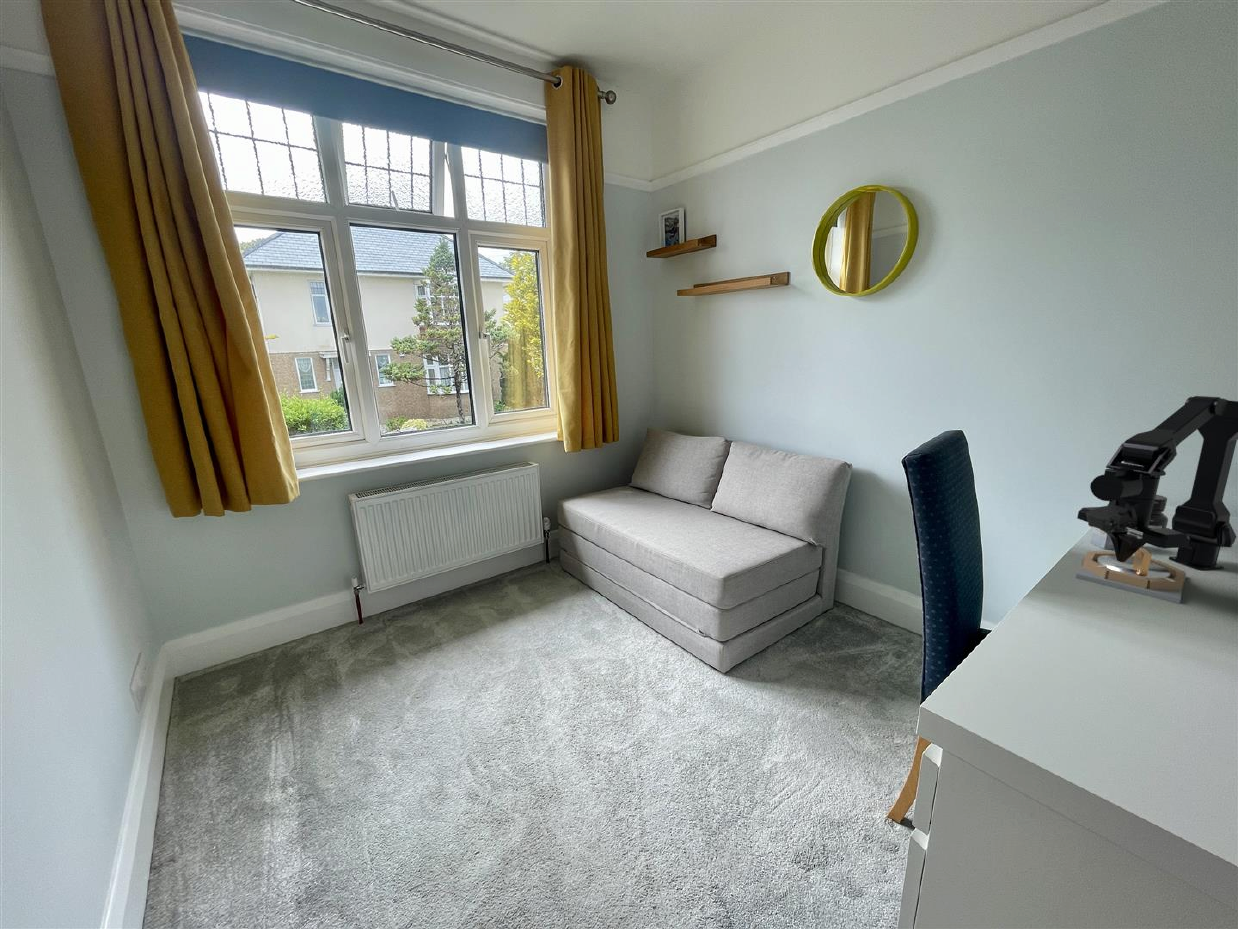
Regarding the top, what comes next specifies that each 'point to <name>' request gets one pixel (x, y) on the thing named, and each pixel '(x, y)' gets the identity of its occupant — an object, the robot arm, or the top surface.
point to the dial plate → (1133, 578)
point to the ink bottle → (1159, 513)
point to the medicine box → (1101, 539)
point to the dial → (1135, 565)
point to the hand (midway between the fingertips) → (1120, 561)
